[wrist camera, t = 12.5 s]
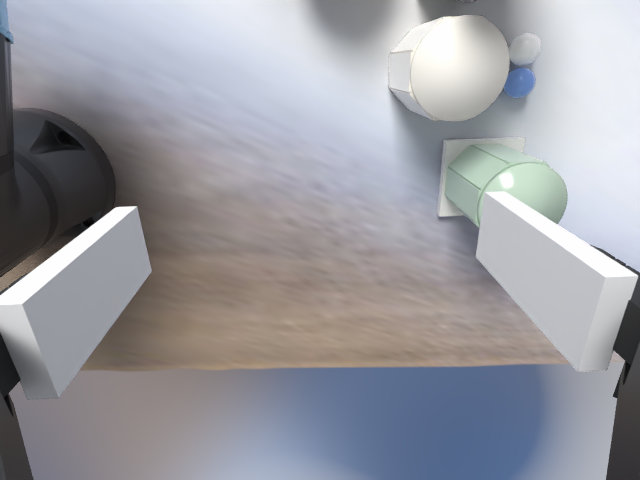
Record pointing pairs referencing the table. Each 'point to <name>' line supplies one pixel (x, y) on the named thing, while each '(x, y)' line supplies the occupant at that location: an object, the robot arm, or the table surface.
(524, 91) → the marble
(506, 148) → the sage green dome
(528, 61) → the marble
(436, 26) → the cream cup
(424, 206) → the table surface
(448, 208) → the coaster
